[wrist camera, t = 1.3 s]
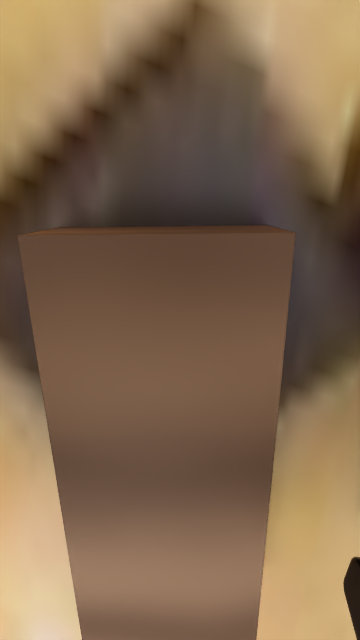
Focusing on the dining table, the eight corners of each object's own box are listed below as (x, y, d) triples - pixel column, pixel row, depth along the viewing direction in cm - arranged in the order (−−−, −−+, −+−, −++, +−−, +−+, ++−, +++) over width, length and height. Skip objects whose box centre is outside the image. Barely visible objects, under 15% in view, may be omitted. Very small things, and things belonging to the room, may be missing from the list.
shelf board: (241, 561, 15) (255, 647, 12) (102, 560, 15) (83, 646, 12) (264, 224, 10) (295, 233, 7) (63, 226, 10) (17, 235, 7)
